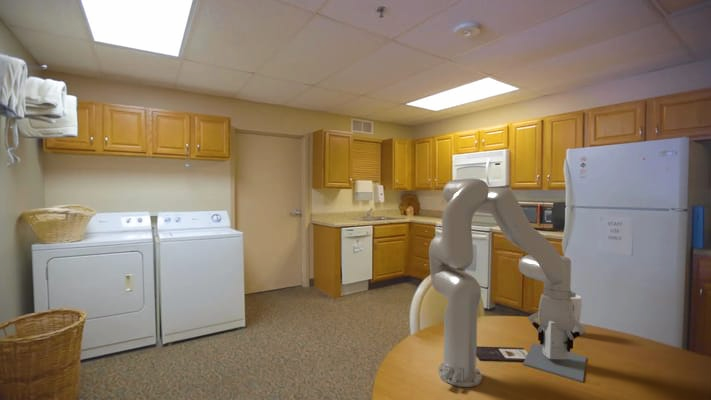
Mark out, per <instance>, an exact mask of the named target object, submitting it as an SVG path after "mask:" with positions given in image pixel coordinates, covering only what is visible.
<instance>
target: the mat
mask: <svg viewBox="0 0 711 400" xmlns="http://www.w3.org/2000/svg"><path fill="white" fill-rule="evenodd" d="M527 353H528V354H527V356H526V358H525V360H524V362H522V365H523V366H526V367H528V368H532V369H536V370H539V371H542V372H545V373H549V374H553V375H555V376H560V377H562V378H566V379H570V380H573V381H576V382H579V383H584V376H585V369H586V361H587V356H586V355H585V356H584V355H581V354H576V353H573V352H571V351H570V352H568V357H567V359H549V358H548V357H547V356H545V355H544V354H543V345H541V344H540V343H535V342H533V343H532V345H531V346H530V349H529V350H528V351H527Z"/></svg>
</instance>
